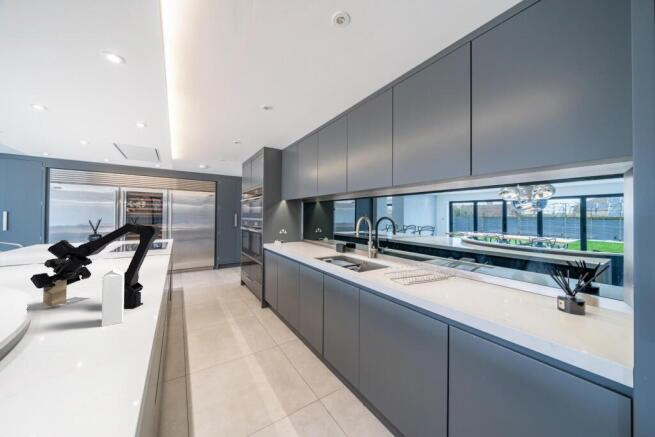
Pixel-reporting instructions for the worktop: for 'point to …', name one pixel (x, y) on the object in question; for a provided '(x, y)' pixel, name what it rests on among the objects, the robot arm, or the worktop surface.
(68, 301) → the tile
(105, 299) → the milk
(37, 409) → the worktop surface
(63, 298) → the oak block
